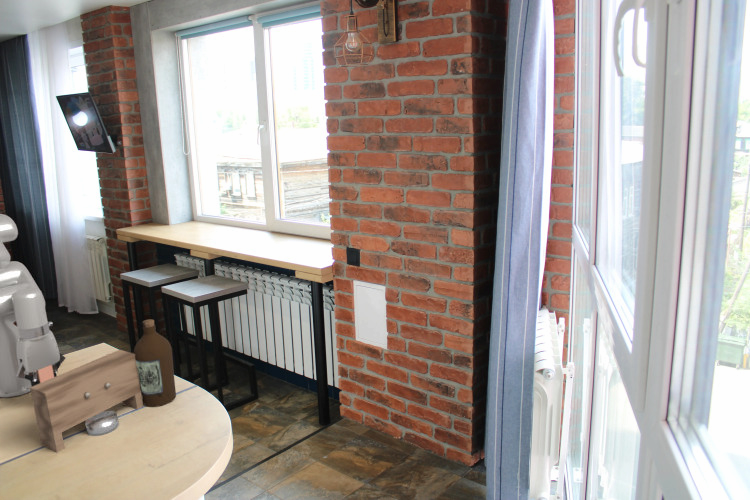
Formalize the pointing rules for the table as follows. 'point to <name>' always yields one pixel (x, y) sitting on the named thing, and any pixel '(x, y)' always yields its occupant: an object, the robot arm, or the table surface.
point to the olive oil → (155, 367)
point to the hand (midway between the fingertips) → (45, 388)
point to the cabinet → (84, 395)
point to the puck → (102, 423)
